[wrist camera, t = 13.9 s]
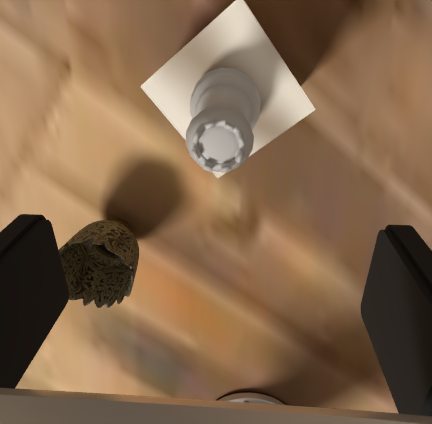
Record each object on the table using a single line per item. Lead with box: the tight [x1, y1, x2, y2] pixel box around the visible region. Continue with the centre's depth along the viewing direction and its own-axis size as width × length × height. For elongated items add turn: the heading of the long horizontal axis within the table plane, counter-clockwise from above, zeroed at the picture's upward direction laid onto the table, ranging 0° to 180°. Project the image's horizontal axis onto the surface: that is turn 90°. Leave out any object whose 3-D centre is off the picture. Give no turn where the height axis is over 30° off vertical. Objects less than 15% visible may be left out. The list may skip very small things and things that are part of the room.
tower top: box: [140, 0, 316, 178], centre depth 25 cm, size 8×8×4 cm
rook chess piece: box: [186, 68, 261, 173], centre depth 20 cm, size 4×4×8 cm
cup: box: [58, 219, 139, 308], centre depth 36 cm, size 8×7×8 cm
